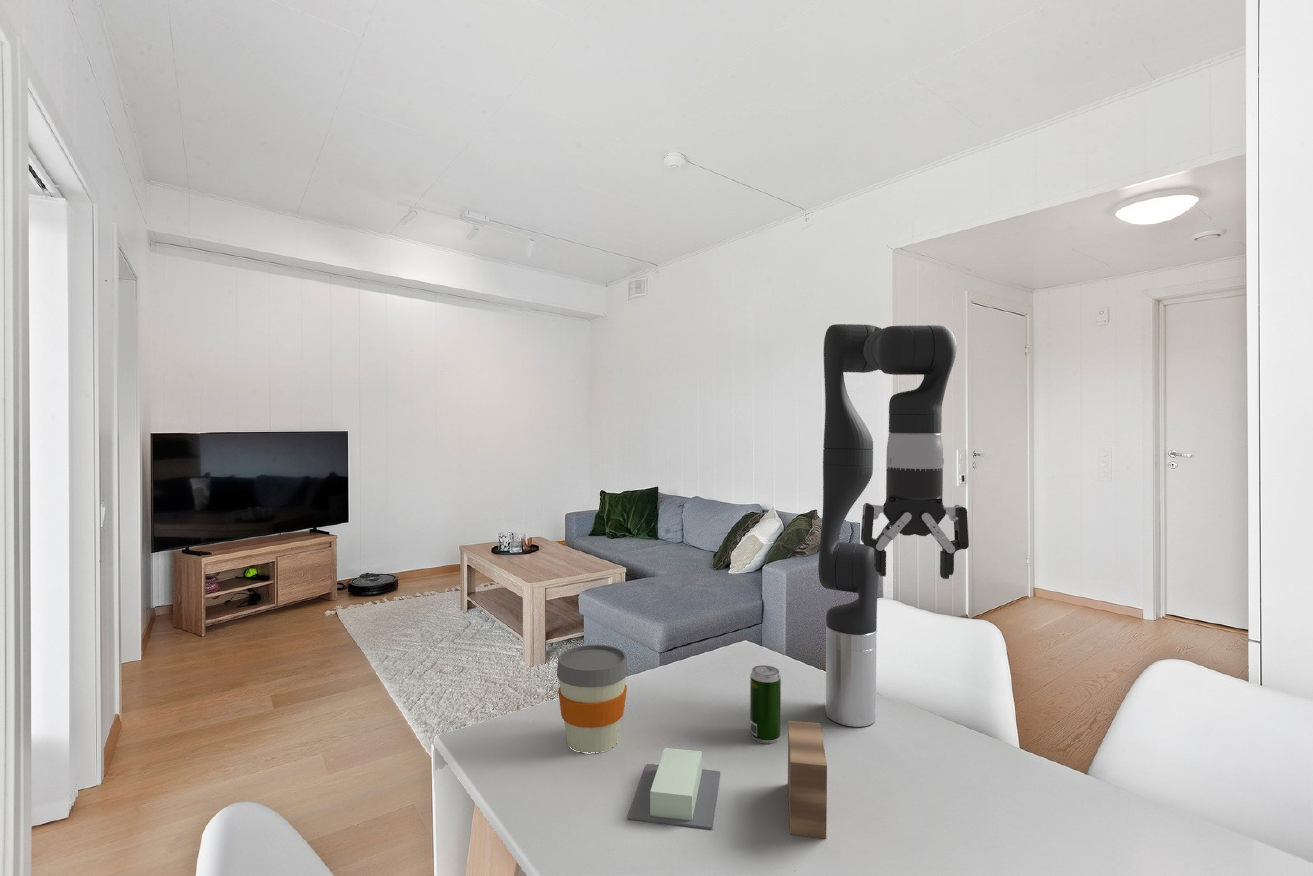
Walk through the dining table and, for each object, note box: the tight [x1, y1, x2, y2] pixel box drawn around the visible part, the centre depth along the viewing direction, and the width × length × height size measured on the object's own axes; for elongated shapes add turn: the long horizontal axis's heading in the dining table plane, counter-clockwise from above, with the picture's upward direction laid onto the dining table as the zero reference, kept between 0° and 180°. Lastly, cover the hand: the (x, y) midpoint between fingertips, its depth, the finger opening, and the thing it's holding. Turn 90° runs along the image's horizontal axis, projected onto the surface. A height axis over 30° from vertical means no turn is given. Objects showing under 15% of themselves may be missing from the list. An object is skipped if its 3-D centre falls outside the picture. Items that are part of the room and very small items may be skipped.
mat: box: [627, 763, 721, 830], centre depth 94 cm, size 14×12×1 cm
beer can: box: [749, 664, 782, 745], centre depth 111 cm, size 5×5×12 cm
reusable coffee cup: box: [556, 644, 629, 753], centre depth 109 cm, size 13×13×15 cm
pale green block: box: [650, 747, 703, 821], centre depth 94 cm, size 12×6×4 cm, turn 169°
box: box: [787, 720, 828, 839], centre depth 90 cm, size 12×5×10 cm, turn 170°
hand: (912, 576), depth 90 cm, fingers open, 8 cm apart
